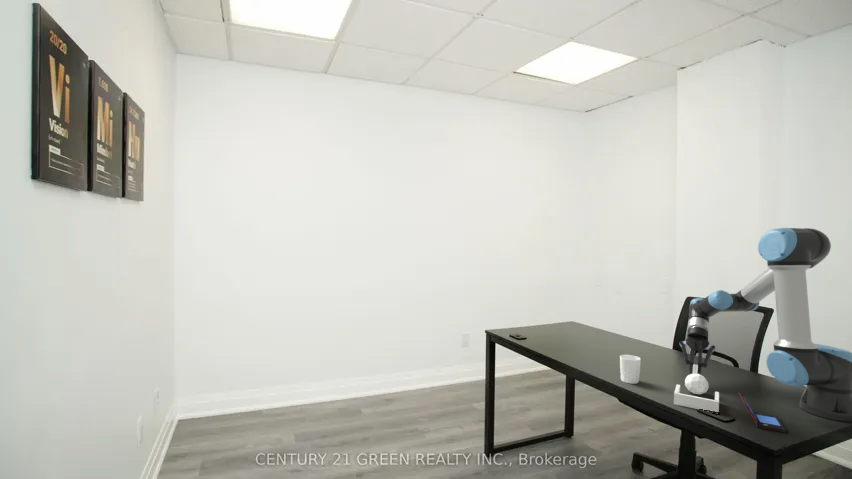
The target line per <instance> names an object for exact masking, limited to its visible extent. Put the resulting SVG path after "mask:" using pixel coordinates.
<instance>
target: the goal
mask: <svg viewBox="0 0 852 479" xmlns="http://www.w3.org/2000/svg"><path fill="white" fill-rule="evenodd" d="M673 405H675V406H676V405H677V406H680V407H686V408H690V409H695V410H699V409H703V410H702V411H704V410H710V411H715V412H720V411H719V410H720V392H719V391H714V399H710V398H705V397H699V396H695V395H690V394H686V393H681V384H675V389H674V391H673Z"/></svg>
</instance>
